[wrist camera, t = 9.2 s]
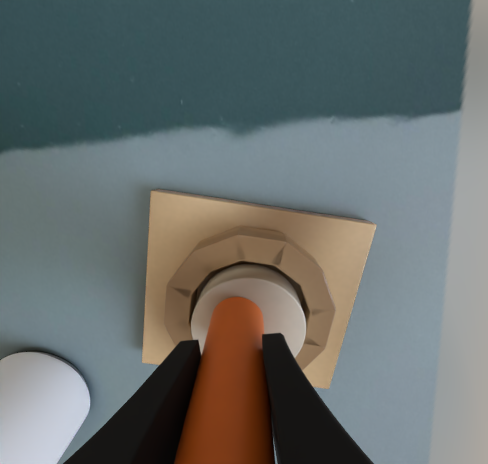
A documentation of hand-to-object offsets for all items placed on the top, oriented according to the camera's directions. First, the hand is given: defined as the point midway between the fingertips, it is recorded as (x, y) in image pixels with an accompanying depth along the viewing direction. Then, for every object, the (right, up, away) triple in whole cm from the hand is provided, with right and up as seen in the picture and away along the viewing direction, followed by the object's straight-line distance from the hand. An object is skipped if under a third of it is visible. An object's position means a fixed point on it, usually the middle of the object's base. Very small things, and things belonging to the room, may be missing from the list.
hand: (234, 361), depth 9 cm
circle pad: (+1, 0, +4) cm, 4 cm away
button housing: (+1, +1, +6) cm, 6 cm away
